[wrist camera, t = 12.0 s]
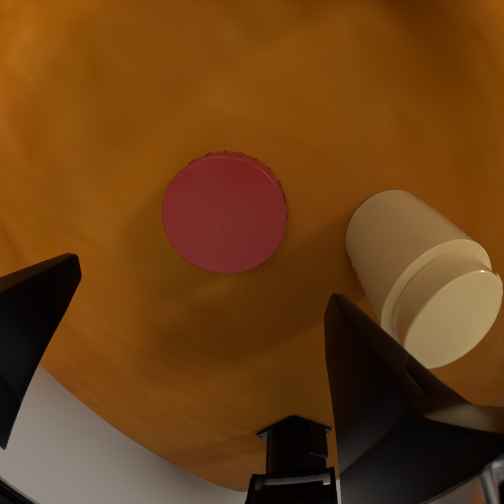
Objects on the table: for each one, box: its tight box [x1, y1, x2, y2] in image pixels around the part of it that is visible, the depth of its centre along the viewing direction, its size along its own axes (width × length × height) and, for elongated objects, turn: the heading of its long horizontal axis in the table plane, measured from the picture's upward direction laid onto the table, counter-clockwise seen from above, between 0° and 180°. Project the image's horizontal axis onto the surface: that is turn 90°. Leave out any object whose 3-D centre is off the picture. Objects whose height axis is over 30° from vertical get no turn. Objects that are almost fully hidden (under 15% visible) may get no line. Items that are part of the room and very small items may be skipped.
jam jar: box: [345, 190, 503, 369], centre depth 13 cm, size 6×6×9 cm
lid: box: [162, 150, 288, 274], centre depth 15 cm, size 7×7×2 cm
